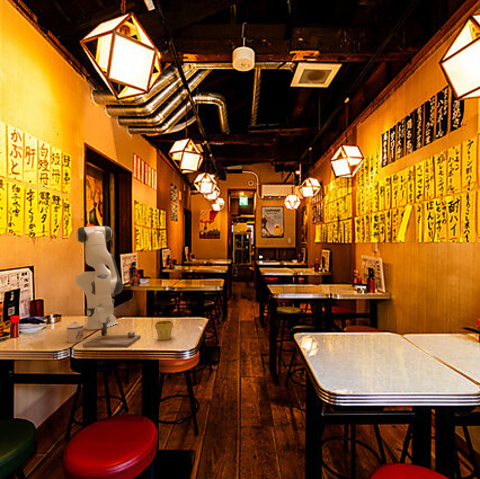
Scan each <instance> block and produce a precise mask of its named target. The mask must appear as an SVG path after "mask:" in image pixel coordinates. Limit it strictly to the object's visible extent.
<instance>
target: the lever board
mask: <svg viewBox="0 0 480 479" xmlns="http://www.w3.org/2000/svg"><path fill="white" fill-rule="evenodd" d="M139 339H141V335H140V334H138V335H136V334H135V337H133V338H101V335H97V336H96V337H95V338H91V339H90V340H88V341H86V342H84V343H83V344H82V348H129V347H130V346H132V345H133V344H134V343H136V342H137V341H139Z"/></svg>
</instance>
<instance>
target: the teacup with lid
mask: <svg viewBox="0 0 480 479" xmlns="http://www.w3.org/2000/svg"><path fill="white" fill-rule="evenodd" d="M72 322H73V323H70V324H69V325H67V326H66V330H67V331H66V334H67V335H66V336H67V337H66V338H67V342H68V344H75V343H80V342H83V341H84V327H85V326H84V324H83V323H80V322H78V321H77V320H75V321H72Z"/></svg>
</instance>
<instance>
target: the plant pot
mask: <svg viewBox="0 0 480 479" xmlns="http://www.w3.org/2000/svg"><path fill="white" fill-rule="evenodd" d="M154 327H155V328H154V329H155V330H156V333H157V337H158V340H159V341H166V340H167V341H168V340H170V339H171V335H172V331H173V330H172V329H173V328H174V322H173V320H170V319H169V320H168V319H165V320H158V321H156V322H155V323H154Z"/></svg>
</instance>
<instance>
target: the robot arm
mask: <svg viewBox="0 0 480 479" xmlns="http://www.w3.org/2000/svg"><path fill="white" fill-rule="evenodd" d="M75 236H76V240H77V241H78V242H79V243H82V244H85V250H84V251H85V252H84V253H85V264H87V265H88V266H89V267H91V268H93V269H94V271H84V272H83V271H81V272H79V273H77V275H76V276H75V279H74V281H75V285H76V286H77V287H79V288H80V289H81V290H82V291H83V292H84V294H85V297H86V304H87V305H86V306H87V307H86V315H87V316H86V325H85V326H84V329H85V330H90V331H92V330H93V331H94V330H101V328H102V327H103V324H102V323H107V327H108V328H110V326H111V327H114V326H116V325H115V324H117V325H119V324H118V323H119V322H118V321H116V317H115V315H114V308H115V307H114V303H115V299H114V298H112V295H119V294H120V293H121V292H122V291H123V289H124V285H123V281H122V279H121V277H120V274H119V270H118V269H119V268H118V267H117V266H118V265H117V263H116V260H115V257H114V256H113V254H112V253H110V252H109V251H108V249H107V242H110V240H112V237H113V230H112V229H111V227H110V226H106V225H103V226H101V225H93V226H82V227H79V228H78V229H77V230H76V233H75ZM107 266H108V268H107ZM113 325H114V326H113Z"/></svg>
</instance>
